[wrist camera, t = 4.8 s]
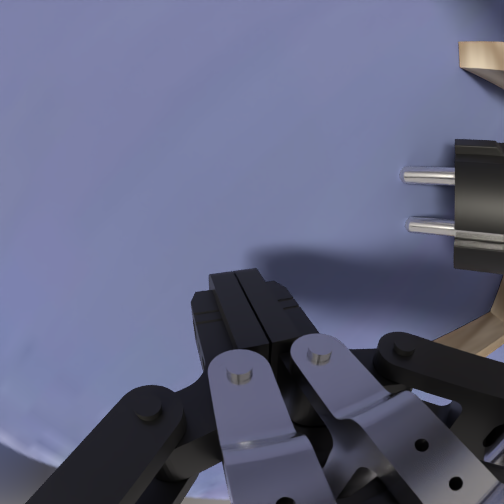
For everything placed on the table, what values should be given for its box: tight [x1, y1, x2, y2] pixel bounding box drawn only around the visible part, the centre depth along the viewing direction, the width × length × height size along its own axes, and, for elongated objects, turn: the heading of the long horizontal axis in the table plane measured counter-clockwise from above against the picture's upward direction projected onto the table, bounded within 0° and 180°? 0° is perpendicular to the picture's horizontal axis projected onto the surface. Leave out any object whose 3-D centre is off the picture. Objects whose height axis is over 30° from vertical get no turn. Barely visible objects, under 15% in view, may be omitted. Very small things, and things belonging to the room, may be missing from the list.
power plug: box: [399, 139, 504, 274], centre depth 13 cm, size 6×8×12 cm
